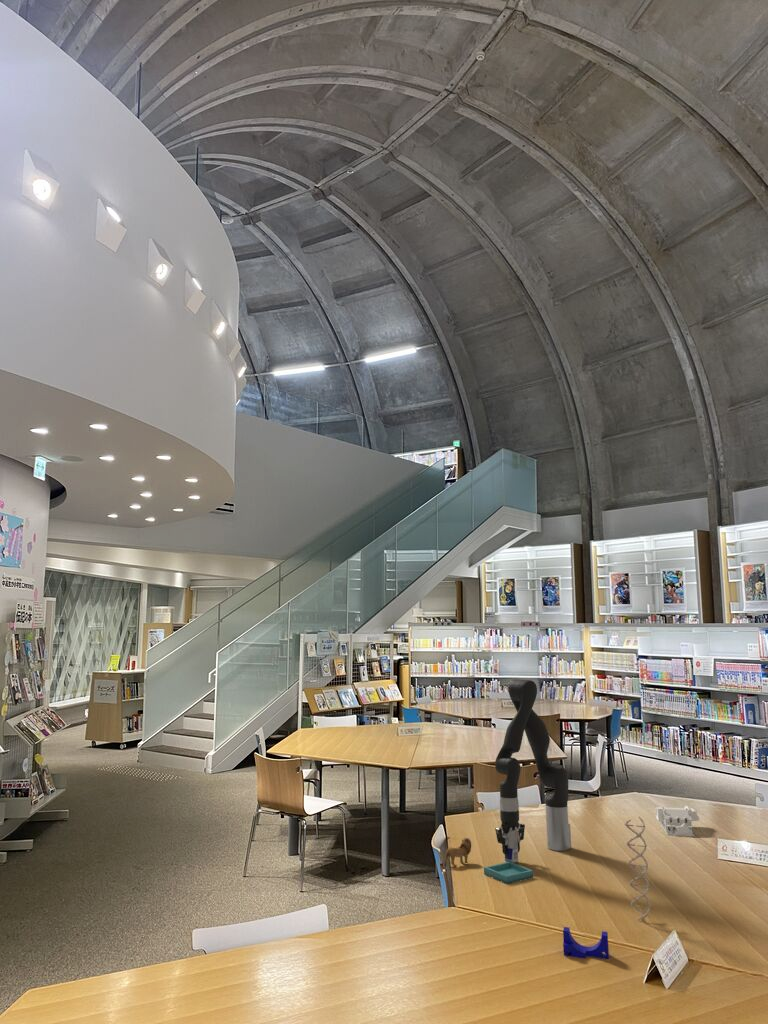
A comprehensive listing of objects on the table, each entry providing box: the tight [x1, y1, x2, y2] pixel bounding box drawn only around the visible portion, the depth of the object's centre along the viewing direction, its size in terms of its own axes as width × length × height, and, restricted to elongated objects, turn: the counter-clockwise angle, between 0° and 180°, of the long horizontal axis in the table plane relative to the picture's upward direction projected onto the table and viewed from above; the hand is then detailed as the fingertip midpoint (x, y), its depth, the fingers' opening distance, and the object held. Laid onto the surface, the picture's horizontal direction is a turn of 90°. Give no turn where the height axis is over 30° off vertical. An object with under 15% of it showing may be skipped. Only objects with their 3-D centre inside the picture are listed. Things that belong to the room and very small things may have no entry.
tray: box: [483, 861, 534, 885], centre depth 265 cm, size 13×13×2 cm
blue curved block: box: [562, 926, 610, 960], centre depth 199 cm, size 12×4×6 cm, turn 71°
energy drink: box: [504, 830, 519, 864], centre depth 283 cm, size 5×5×12 cm
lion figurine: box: [443, 837, 472, 868], centre depth 280 cm, size 15×5×9 cm, turn 130°
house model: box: [655, 805, 700, 837], centre depth 328 cm, size 19×20×10 cm
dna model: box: [624, 816, 652, 921], centre depth 227 cm, size 7×6×30 cm
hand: (511, 853), depth 282 cm, fingers closed on energy drink, 5 cm apart
